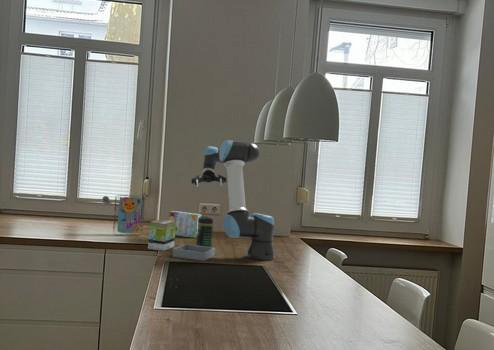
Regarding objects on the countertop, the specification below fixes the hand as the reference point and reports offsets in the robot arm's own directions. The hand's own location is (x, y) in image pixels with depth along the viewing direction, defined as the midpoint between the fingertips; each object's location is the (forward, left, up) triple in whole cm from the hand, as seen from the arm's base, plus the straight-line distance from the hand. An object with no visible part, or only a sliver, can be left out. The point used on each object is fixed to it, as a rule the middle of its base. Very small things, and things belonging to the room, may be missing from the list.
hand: (209, 184), depth 291 cm
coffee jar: (-2, +7, -36) cm, 37 cm away
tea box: (+19, +17, -37) cm, 45 cm away
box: (+56, -6, -36) cm, 67 cm away
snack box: (+25, -31, -37) cm, 54 cm away
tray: (-4, +27, -36) cm, 45 cm away
